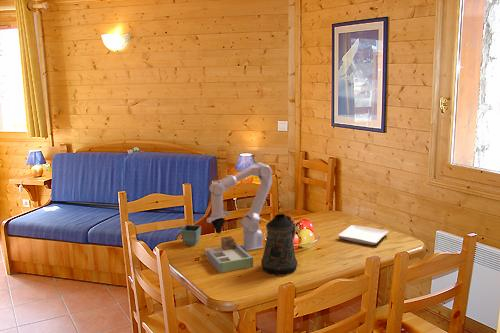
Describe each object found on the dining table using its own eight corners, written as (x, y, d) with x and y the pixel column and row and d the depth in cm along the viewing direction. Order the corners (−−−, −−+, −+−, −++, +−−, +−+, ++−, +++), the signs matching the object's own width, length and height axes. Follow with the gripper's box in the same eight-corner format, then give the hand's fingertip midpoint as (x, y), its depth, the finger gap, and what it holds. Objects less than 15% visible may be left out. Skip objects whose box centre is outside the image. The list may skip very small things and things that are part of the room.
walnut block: (230, 245, 246) (230, 236, 245) (234, 248, 241) (234, 239, 240) (221, 247, 244) (221, 237, 243) (225, 250, 240) (224, 240, 239)
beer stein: (259, 275, 217) (258, 221, 212) (264, 258, 235) (263, 208, 230) (296, 276, 214) (296, 222, 209) (298, 259, 233) (298, 209, 228)
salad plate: (389, 236, 264) (389, 230, 263) (376, 248, 247) (376, 242, 246) (351, 229, 275) (351, 224, 275) (337, 241, 258) (337, 235, 257)
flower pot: (197, 247, 251) (196, 231, 249) (180, 246, 253) (180, 230, 251) (202, 241, 260) (201, 225, 258) (186, 240, 261) (185, 224, 260)
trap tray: (233, 248, 249) (232, 240, 248) (253, 266, 226) (252, 257, 225) (202, 254, 242) (202, 245, 241) (219, 272, 219) (219, 263, 219)
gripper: (220, 201, 247) (221, 227, 250) (201, 208, 236) (202, 235, 238) (231, 203, 243) (232, 229, 246) (212, 211, 232) (213, 238, 234)
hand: (218, 232), depth 242 cm, fingers closed
